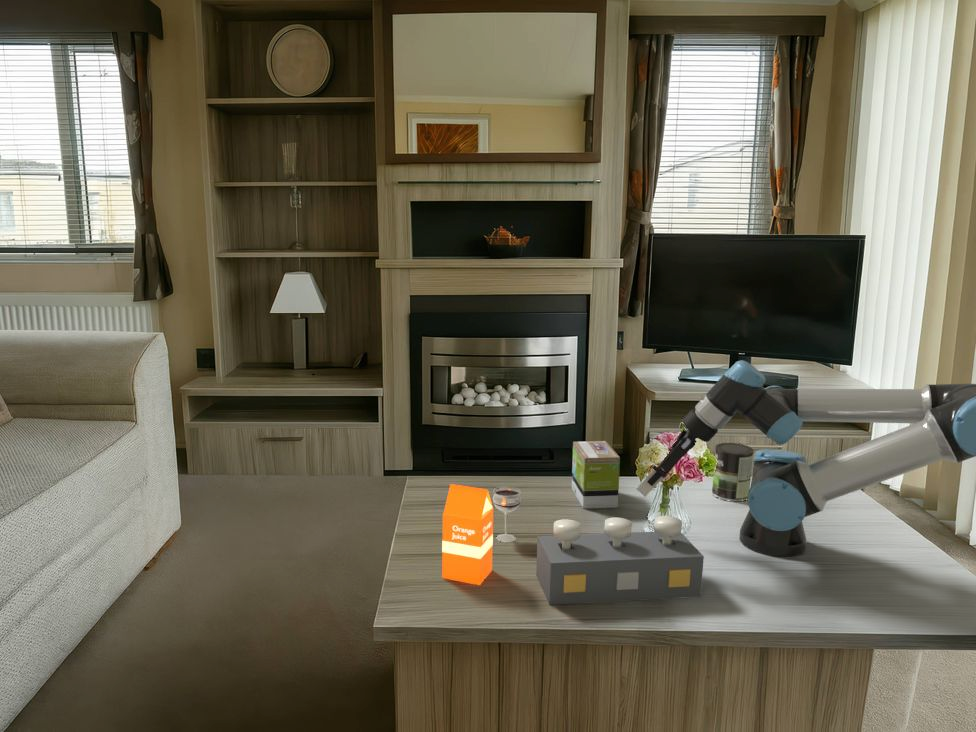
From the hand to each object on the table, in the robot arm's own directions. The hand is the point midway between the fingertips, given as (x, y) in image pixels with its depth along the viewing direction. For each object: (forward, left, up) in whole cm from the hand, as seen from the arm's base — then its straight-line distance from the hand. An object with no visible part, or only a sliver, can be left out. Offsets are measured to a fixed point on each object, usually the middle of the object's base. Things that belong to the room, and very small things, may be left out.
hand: (646, 483), depth 179 cm
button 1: (+11, +28, -9) cm, 32 cm away
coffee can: (-17, -43, -16) cm, 49 cm away
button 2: (-8, +17, -9) cm, 21 cm away
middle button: (+2, +23, -9) cm, 24 cm away
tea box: (+18, -24, -16) cm, 34 cm away
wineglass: (+31, +11, -16) cm, 36 cm away
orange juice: (+32, +32, -16) cm, 48 cm away
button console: (+1, +24, -15) cm, 28 cm away
